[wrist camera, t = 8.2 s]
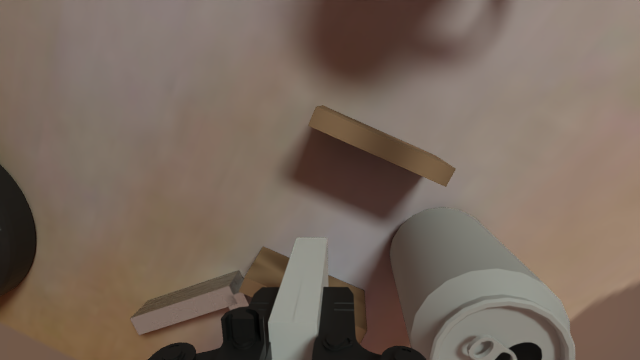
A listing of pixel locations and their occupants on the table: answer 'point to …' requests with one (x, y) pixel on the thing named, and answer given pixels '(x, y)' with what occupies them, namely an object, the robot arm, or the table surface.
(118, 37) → the table surface
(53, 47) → the table surface
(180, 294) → the v block
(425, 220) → the can
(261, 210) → the table surface
